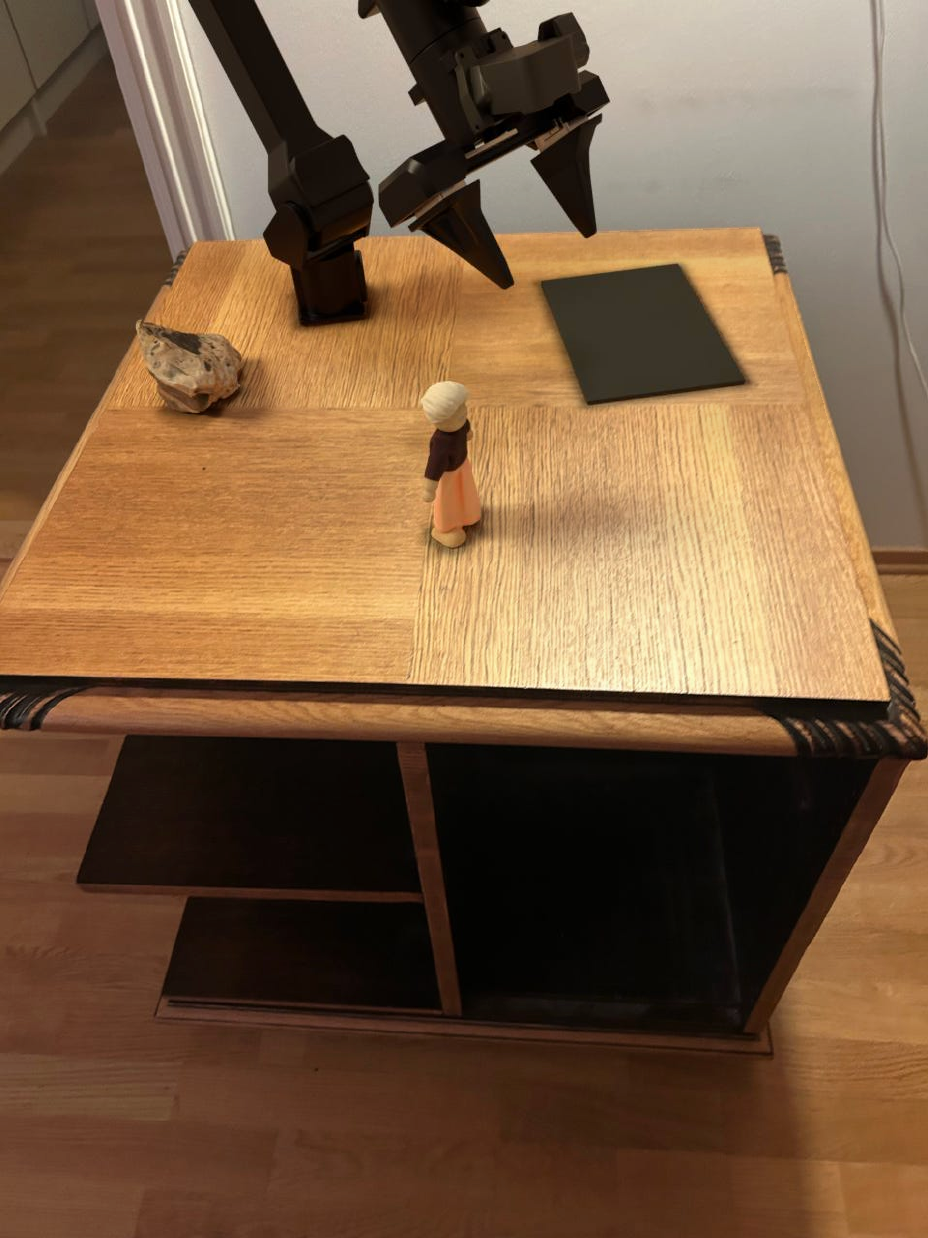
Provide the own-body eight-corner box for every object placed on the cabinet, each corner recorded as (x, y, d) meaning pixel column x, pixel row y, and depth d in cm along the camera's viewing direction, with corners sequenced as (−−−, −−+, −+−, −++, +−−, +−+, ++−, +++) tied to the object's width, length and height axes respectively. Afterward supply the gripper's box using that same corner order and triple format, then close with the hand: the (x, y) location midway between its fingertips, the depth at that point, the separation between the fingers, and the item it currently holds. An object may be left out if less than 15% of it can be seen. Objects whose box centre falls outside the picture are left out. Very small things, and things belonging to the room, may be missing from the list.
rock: (148, 346, 86) (100, 337, 76) (209, 302, 85) (169, 287, 75) (203, 427, 87) (162, 429, 77) (264, 385, 86) (231, 381, 76)
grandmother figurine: (471, 560, 68) (462, 421, 58) (421, 554, 69) (404, 416, 59) (490, 490, 73) (485, 352, 63) (443, 485, 73) (430, 347, 64)
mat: (586, 404, 79) (587, 401, 79) (540, 284, 92) (540, 280, 92) (745, 383, 80) (745, 379, 79) (677, 266, 93) (677, 262, 92)
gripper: (402, 19, 51) (533, 279, 56) (610, -66, 59) (709, 168, 64) (322, 112, 61) (440, 328, 66) (511, 29, 69) (603, 226, 74)
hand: (551, 260), depth 67 cm, fingers open, 9 cm apart
